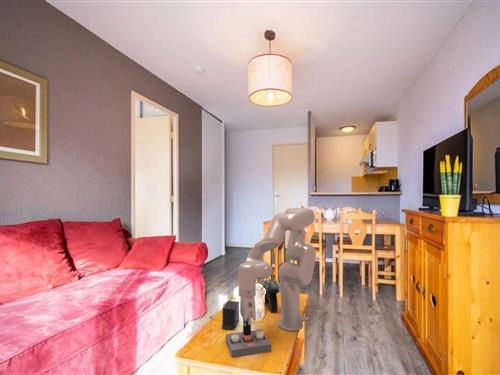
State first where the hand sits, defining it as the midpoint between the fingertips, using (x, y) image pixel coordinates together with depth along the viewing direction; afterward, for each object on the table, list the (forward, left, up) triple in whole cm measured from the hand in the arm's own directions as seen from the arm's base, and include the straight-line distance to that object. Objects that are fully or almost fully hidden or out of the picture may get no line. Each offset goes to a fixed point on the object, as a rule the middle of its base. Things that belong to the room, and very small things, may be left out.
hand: (246, 334), depth 123 cm
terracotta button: (0, 0, -3) cm, 3 cm away
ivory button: (-6, 0, -3) cm, 6 cm away
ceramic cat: (-24, -39, -6) cm, 46 cm away
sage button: (+5, 0, -3) cm, 6 cm away
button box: (0, 0, -5) cm, 5 cm away
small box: (+3, -22, -6) cm, 23 cm away
